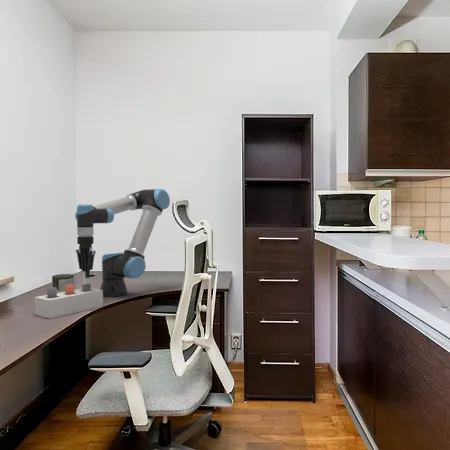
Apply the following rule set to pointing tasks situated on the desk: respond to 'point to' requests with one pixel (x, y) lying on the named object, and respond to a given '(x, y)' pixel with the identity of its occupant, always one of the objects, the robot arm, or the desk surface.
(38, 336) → the desk surface
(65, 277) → the coffee can
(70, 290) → the red plug
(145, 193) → the robot arm
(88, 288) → the charcoal plug
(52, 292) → the charcoal plug
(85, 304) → the panel
